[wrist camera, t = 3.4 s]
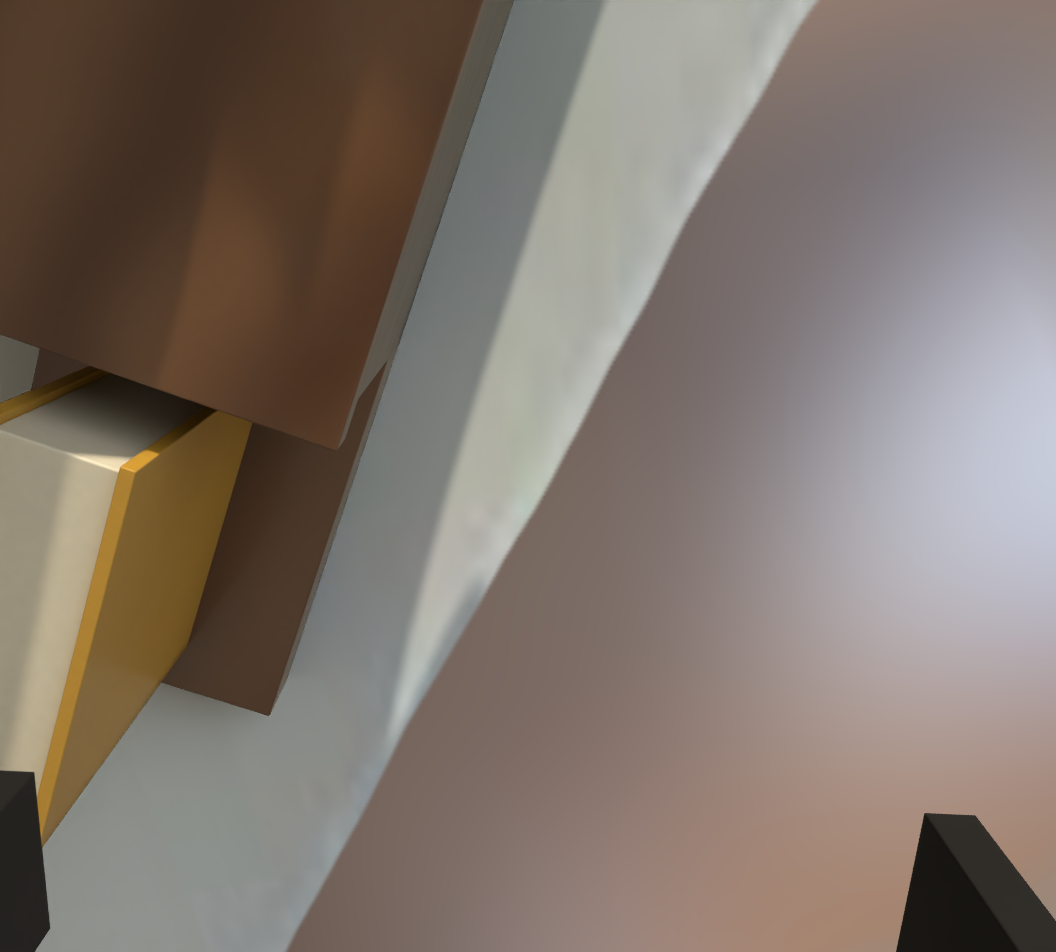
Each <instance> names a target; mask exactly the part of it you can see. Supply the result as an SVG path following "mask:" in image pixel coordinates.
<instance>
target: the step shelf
mask: <svg viewBox="0 0 1056 952" xmlns="http://www.w3.org/2000/svg"><path fill="white" fill-rule="evenodd" d="M513 1H514V0H0V334H1V335H4V336H6V337H9V338H12V339H15V340H18V341H21V342H24V343H26V344H29V345H32V346H35V347H38V348H40V351H39V356H38V361H37V365H36V370H35V375H34V379H33V384H32V389H31V390H33V389H35V388H38V387H40V386H42V385H45V384H47V383H49V382H52V381H54V380H57V379H59V378H61V377H64V376H66V375H68V374H71V373H73V372H76V371H78V370H80V369H83V368H85V367H87V366H92V367H95V368H98V369H101V370H104V371H106V372H109V373H112V374H115V375H118V376H121V377H124V378H126V379H129V380H132V381H135V382H138V383H141V384H144V385H146V386H149V387H152V388H155V389H158V390H161V391H164V392H166V393H169V394H172V395H175V396H178V397H181V398H184V399H187V400H189V401H192V402H195V403H198V404H201V405H204V406H207V407H209V408H212V409H215V410H218V411H221V412H224V413H227V414H229V415H232V416H235V417H238V418H241V419H244V420H247V421H249V422H252V426H251V429H250V433H249V436H248V440H247V443H246V446H245V450H244V453H243V457H242V460H241V464H240V467H239V470H238V474H237V477H236V481H235V484H234V487H233V491H232V494H231V498H230V501H229V505H228V508H227V511H226V515H225V518H224V522H223V525H222V528H221V532H220V535H219V539H218V542H217V546H216V549H215V552H214V556H213V559H212V563H211V566H210V569H209V573H208V576H207V580H206V583H205V586H204V590H203V593H202V597H201V600H200V604H199V607H198V610H197V614H196V617H195V621H194V624H193V627H192V631H191V634H190V638H189V641H188V645H187V647H186V648H185V650H184V651H183V653H182V654H181V655H180V657H179V658H178V660H177V661H176V662H175V664H174V665H173V666H172V668H171V669H170V671H169V672H168V673H167V675H166V676H165V678H164V679H163V680H162V683H165V684H168V685H171V686H174V687H178V688H181V689H184V690H187V691H190V692H194V693H197V694H200V695H203V696H207V697H210V698H213V699H216V700H219V701H223V702H226V703H229V704H232V705H235V706H239V707H242V708H245V709H248V710H251V711H255V712H258V713H261V714H264V715H267V716H269V715H270V714H271V712H272V710H273V708H274V705H275V703H276V701H277V699H278V697H279V695H280V693H281V691H282V688H283V686H284V684H285V682H286V680H287V677H288V674H289V671H290V668H291V665H292V662H293V659H294V656H295V653H296V650H297V647H298V644H299V641H300V638H301V635H302V632H303V629H304V626H305V623H306V620H307V617H308V614H309V611H310V609H311V606H312V603H313V600H314V597H315V594H316V591H317V588H318V585H319V582H320V579H321V576H322V573H323V570H324V567H325V564H326V561H327V558H328V555H329V552H330V549H331V546H332V543H333V540H334V537H335V534H336V531H337V528H338V525H339V522H340V519H341V516H342V513H343V510H344V507H345V504H346V501H347V498H348V495H349V492H350V489H351V486H352V483H353V480H354V477H355V474H356V471H357V468H358V465H359V462H360V459H361V456H362V453H363V450H364V447H365V444H366V441H367V438H368V435H369V432H370V429H371V426H372V423H373V420H374V417H375V414H376V411H377V408H378V405H379V402H380V399H381V396H382V393H383V390H384V387H385V384H386V381H387V378H388V375H389V372H390V369H391V366H392V363H393V360H394V357H395V354H396V351H397V347H398V345H399V342H400V339H401V336H402V333H403V330H404V327H405V324H406V321H407V318H408V315H409V312H410V309H411V306H412V303H413V300H414V297H415V294H416V291H417V288H418V285H419V282H420V279H421V276H422V273H423V270H424V267H425V264H426V262H427V259H428V256H429V253H430V250H431V247H432V244H433V241H434V238H435V235H436V232H437V229H438V226H439V223H440V220H441V217H442V214H443V211H444V208H445V205H446V202H447V199H448V196H449V193H450V190H451V187H452V184H453V181H454V178H455V175H456V172H457V169H458V166H459V163H460V160H461V157H462V154H463V151H464V148H465V145H466V142H467V139H468V136H469V133H470V130H471V127H472V124H473V121H474V118H475V115H476V112H477V109H478V106H479V103H480V100H481V97H482V94H483V91H484V88H485V85H486V82H487V79H488V76H489V73H490V70H491V67H492V64H493V61H494V58H495V55H496V52H497V49H498V46H499V43H500V40H501V37H502V34H503V31H504V28H505V25H506V22H507V19H508V16H509V13H510V10H511V7H512V4H513Z"/></svg>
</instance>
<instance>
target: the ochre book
mask: <svg viewBox="0 0 1056 952" xmlns="http://www.w3.org/2000/svg"><path fill="white" fill-rule="evenodd" d="M251 426H252V422H249V421H247V420H244V419H241V418H238V417H235V416H232V415H229V414H227V413H224V412H221V411H218V410H215V409H212V408H209V407H207V406H204V405H201V404H198V403H195V402H192V401H189V400H187V399H184V398H181V397H178V396H175V395H172V394H169V393H166V392H164V391H161V390H158V389H155V388H152V387H149V386H146V385H144V384H141V383H138V382H135V381H132V380H129V379H126V378H124V377H121V376H118V375H115V374H112V373H109V372H106V371H104V370H101V369H98V368H95V367H92V366H87V367H85V368H83V369H80V370H78V371H76V372H73V373H71V374H68V375H66V376H64V377H61V378H59V379H57V380H54V381H52V382H49V383H47V384H45V385H42V386H40V387H38V388H35V389H33V390H30V391H28V392H26V393H23V394H21V395H19V396H16V397H14V398H11V399H9V400H7V401H4V402H2V403H0V770H3V771H24V772H34V774H35V784H36V793H37V803H38V813H39V823H40V833H41V843H42V847H43V846H44V844H45V843H46V842H47V840H48V839H49V837H50V836H51V835H52V833H53V832H54V830H55V829H56V828H57V826H58V825H59V823H60V822H61V821H62V819H63V818H64V817H65V815H66V814H67V812H68V811H69V810H70V808H71V807H72V805H73V804H74V803H75V801H76V800H77V798H78V797H79V796H80V794H81V793H82V792H83V790H84V789H85V787H86V786H87V785H88V783H89V782H90V780H91V779H92V778H93V776H94V775H95V773H96V772H97V771H98V769H99V768H100V766H101V765H102V764H103V762H104V761H105V760H106V758H107V757H108V755H109V754H110V753H111V751H112V750H113V748H114V747H115V746H116V744H117V743H118V741H119V740H120V739H121V737H122V736H123V735H124V733H125V732H126V730H127V729H128V728H129V726H130V725H131V723H132V722H133V721H134V719H135V718H136V716H137V715H138V714H139V712H140V711H141V710H142V708H143V707H144V705H145V704H146V703H147V701H148V700H149V698H150V697H151V696H152V694H153V693H154V691H155V690H156V689H157V687H158V686H159V685H160V683H161V682H162V680H163V679H164V678H165V676H166V675H167V673H168V672H169V671H170V669H171V668H172V666H173V665H174V664H175V662H176V661H177V660H178V658H179V657H180V655H181V654H182V653H183V651H184V650H185V648H186V647H187V645H188V641H189V638H190V634H191V631H192V627H193V624H194V621H195V617H196V614H197V610H198V607H199V604H200V600H201V597H202V593H203V590H204V586H205V583H206V580H207V576H208V573H209V569H210V566H211V563H212V559H213V556H214V552H215V549H216V546H217V542H218V539H219V535H220V532H221V528H222V525H223V522H224V518H225V515H226V511H227V508H228V505H229V501H230V498H231V494H232V491H233V487H234V484H235V481H236V477H237V474H238V470H239V467H240V464H241V460H242V457H243V453H244V450H245V446H246V443H247V440H248V436H249V433H250V429H251Z"/></svg>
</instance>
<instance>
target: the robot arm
mask: <svg viewBox="0 0 1056 952" xmlns="http://www.w3.org/2000/svg"><path fill="white" fill-rule="evenodd" d="M49 929H50V922H49V912H48V902H47V892H46V882H45V873H44V863H43V853H42V843H41V833H40V823H39V813H38V803H37V793H36V784H35V774H34V772H24V771H3V770H0V952H35V950H36V949H37V947H38V946H39V944H40V943H41V941H42V940H43V938H44V937H45V935H46V934H47V932H48V931H49ZM896 952H1056V921H1055V919H1054V918H1053V917H1052V916H1051V914H1050V913H1049V911H1048V910H1047V909H1046V907H1045V906H1044V905H1043V904H1042V902H1041V901H1040V900H1039V898H1038V897H1037V896H1036V895H1035V893H1034V892H1033V891H1032V889H1031V888H1030V887H1029V885H1028V884H1027V883H1026V881H1025V880H1024V879H1023V877H1022V876H1021V875H1020V873H1019V872H1018V871H1017V870H1016V868H1015V867H1014V866H1013V864H1012V863H1011V862H1010V860H1009V859H1008V858H1007V856H1006V855H1005V854H1004V853H1003V851H1002V850H1001V849H1000V847H999V846H998V845H997V843H996V842H995V841H994V839H993V838H992V837H991V835H990V834H989V833H988V832H987V830H986V829H985V828H984V826H983V825H982V824H981V822H980V821H979V820H978V818H977V817H976V816H973V815H952V814H931V813H925V814H924V819H923V823H922V828H921V833H920V838H919V843H918V848H917V852H916V857H915V862H914V867H913V873H912V877H911V882H910V887H909V891H908V897H907V901H906V906H905V911H904V916H903V921H902V926H901V931H900V936H899V940H898V945H897V950H896Z"/></svg>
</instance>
